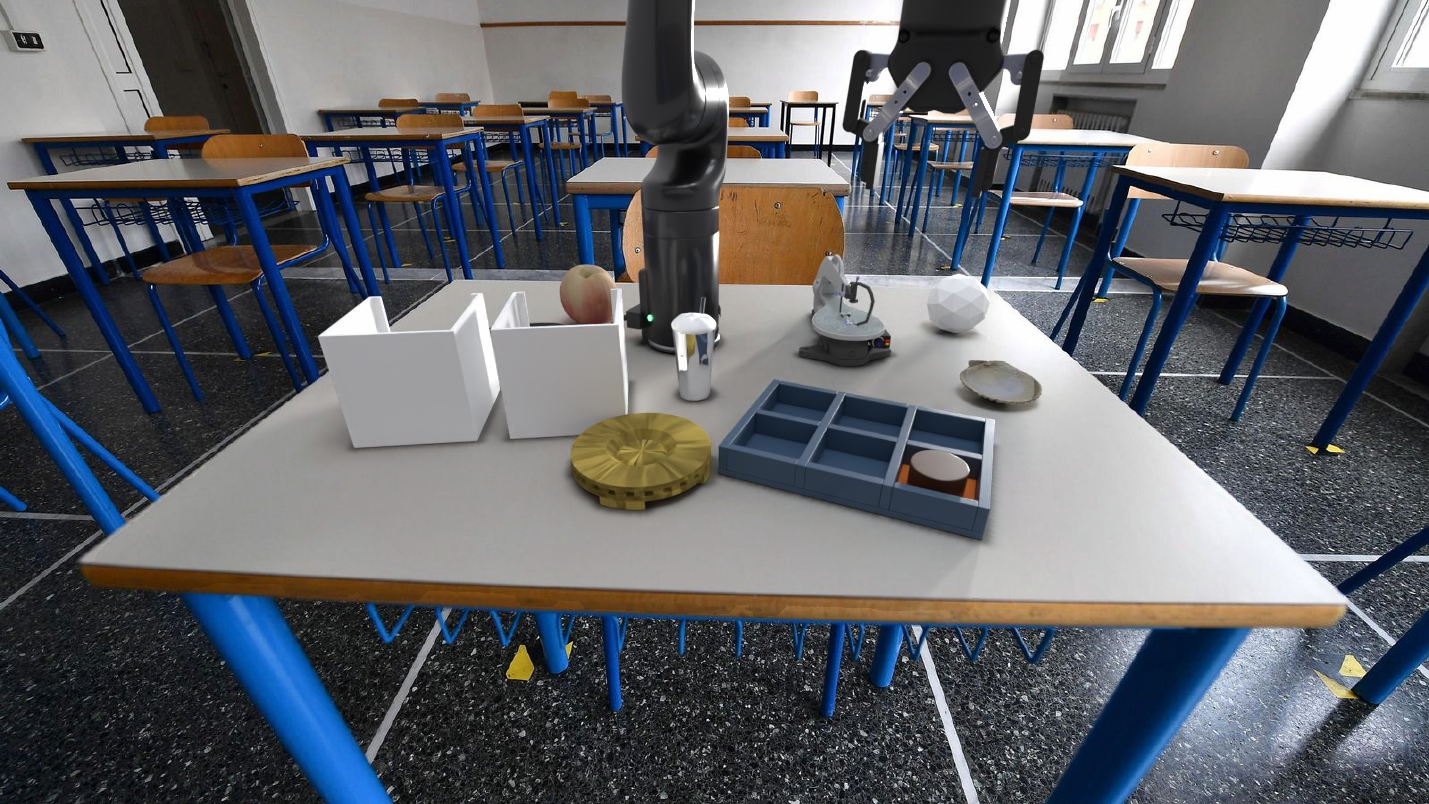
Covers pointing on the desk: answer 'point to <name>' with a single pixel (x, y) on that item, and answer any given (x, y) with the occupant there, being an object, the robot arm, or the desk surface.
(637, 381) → the desk surface
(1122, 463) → the desk surface
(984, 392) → the seashell
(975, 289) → the geometric ball
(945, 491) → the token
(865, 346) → the scroll saw
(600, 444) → the gold notched disc
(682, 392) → the milkshake
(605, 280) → the fruit
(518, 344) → the white open box
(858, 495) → the grid
